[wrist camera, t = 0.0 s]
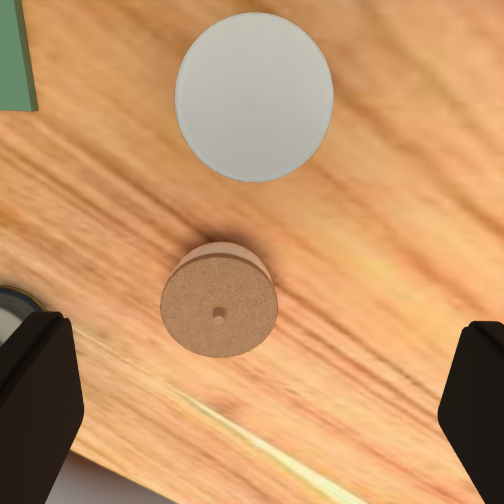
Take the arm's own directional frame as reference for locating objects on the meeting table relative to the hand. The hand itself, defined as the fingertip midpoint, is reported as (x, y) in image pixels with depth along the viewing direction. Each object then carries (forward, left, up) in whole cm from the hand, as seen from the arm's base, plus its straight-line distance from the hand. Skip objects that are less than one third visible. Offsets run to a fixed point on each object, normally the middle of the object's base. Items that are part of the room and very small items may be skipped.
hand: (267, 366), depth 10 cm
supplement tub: (-5, 0, -32) cm, 32 cm away
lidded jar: (+13, -2, -32) cm, 34 cm away
